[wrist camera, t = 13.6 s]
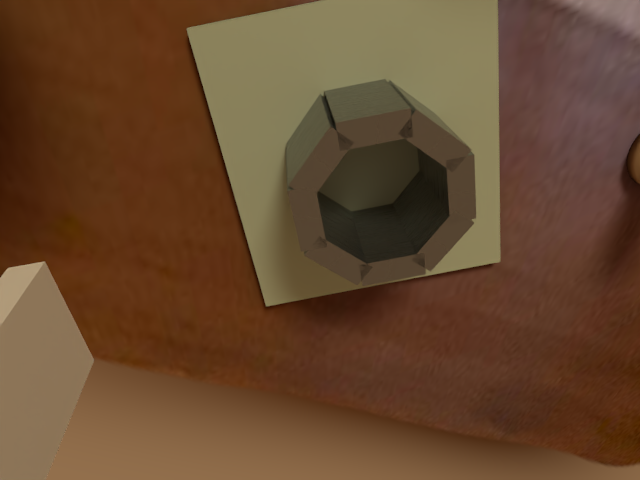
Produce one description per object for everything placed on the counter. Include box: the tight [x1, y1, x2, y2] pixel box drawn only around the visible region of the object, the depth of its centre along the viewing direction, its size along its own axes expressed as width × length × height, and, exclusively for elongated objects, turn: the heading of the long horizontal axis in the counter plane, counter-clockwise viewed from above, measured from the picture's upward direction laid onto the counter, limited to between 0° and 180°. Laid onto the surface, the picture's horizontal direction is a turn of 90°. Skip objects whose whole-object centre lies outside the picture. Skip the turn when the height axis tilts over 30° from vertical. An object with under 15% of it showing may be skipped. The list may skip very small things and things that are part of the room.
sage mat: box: [187, 0, 500, 306], centre depth 35 cm, size 18×20×1 cm
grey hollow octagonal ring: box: [285, 79, 476, 286], centre depth 31 cm, size 10×10×7 cm
